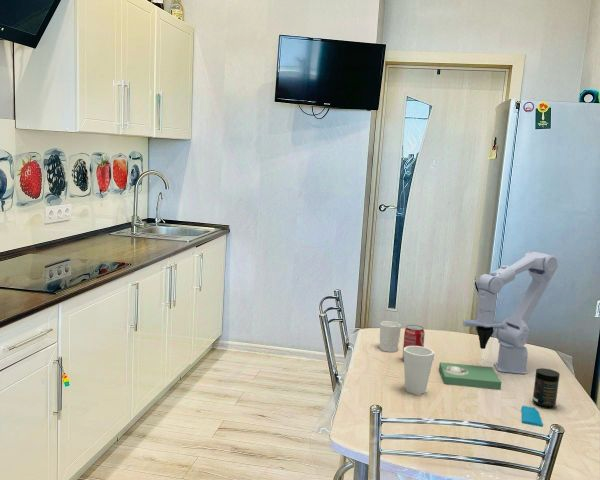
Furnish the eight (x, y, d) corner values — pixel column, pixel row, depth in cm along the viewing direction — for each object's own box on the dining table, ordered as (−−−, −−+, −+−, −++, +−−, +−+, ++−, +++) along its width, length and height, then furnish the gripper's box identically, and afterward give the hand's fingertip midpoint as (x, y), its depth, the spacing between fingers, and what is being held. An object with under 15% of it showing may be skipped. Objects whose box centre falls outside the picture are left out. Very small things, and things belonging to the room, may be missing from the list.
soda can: (422, 366, 208) (425, 330, 206) (401, 363, 209) (404, 328, 207) (422, 359, 215) (425, 325, 213) (402, 357, 216) (405, 323, 214)
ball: (449, 374, 201) (460, 369, 201) (453, 382, 198) (464, 378, 197) (446, 366, 199) (457, 362, 198) (450, 375, 195) (461, 370, 195)
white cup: (400, 353, 221) (402, 327, 219) (379, 351, 221) (381, 326, 219) (397, 346, 228) (399, 321, 227) (377, 345, 228) (379, 320, 227)
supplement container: (560, 408, 178) (564, 375, 177) (542, 410, 176) (546, 376, 175) (545, 399, 185) (549, 367, 183) (527, 400, 183) (531, 368, 181)
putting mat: (491, 374, 204) (492, 367, 204) (500, 389, 190) (501, 382, 190) (439, 369, 206) (439, 362, 206) (444, 383, 192) (444, 376, 192)
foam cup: (432, 387, 188) (435, 348, 186) (428, 398, 180) (432, 357, 178) (402, 382, 191) (406, 344, 189) (397, 392, 183) (401, 352, 181)
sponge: (542, 409, 175) (522, 403, 177) (543, 425, 164) (522, 418, 166) (541, 414, 176) (520, 407, 177) (542, 430, 164) (520, 423, 166)
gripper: (467, 310, 197) (463, 349, 199) (511, 314, 196) (506, 353, 198) (463, 305, 204) (459, 343, 206) (505, 309, 203) (501, 346, 205)
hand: (482, 347), depth 203 cm, fingers closed
